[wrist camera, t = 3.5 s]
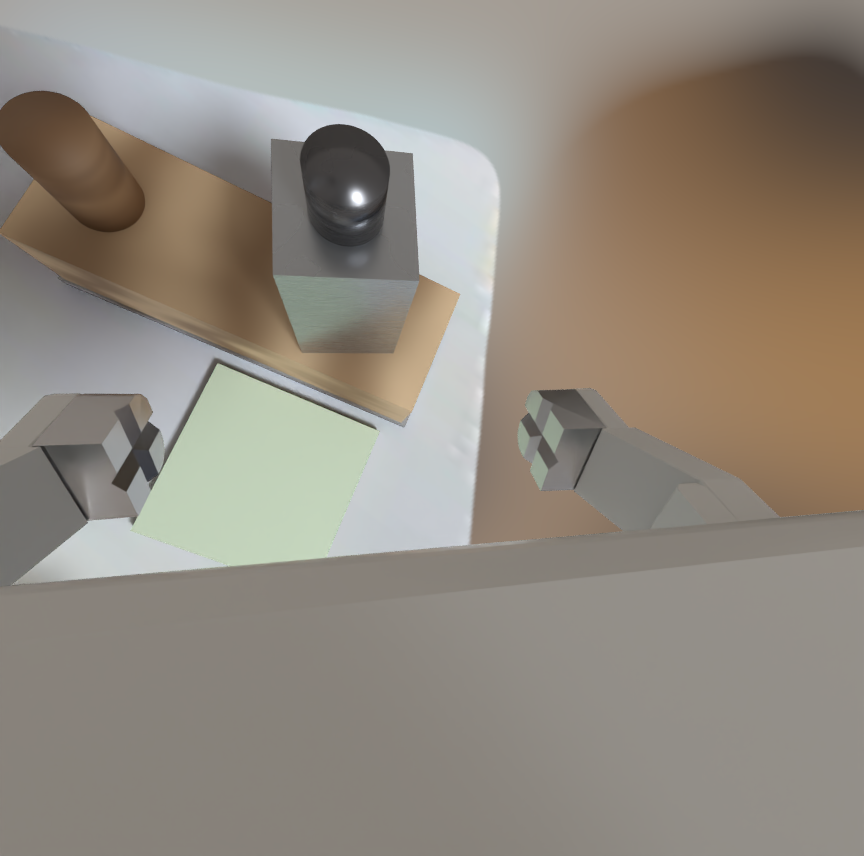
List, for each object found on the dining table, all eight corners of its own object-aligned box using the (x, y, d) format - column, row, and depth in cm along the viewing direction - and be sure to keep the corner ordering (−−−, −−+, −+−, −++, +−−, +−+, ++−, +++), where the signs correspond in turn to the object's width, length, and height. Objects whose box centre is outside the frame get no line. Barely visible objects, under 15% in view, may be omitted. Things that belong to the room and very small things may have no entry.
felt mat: (136, 529, 22) (130, 530, 22) (220, 365, 24) (217, 363, 24) (311, 591, 24) (310, 594, 23) (379, 432, 26) (379, 431, 25)
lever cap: (302, 353, 20) (258, 237, 11) (300, 266, 21) (257, 78, 11) (393, 353, 21) (431, 247, 11) (389, 270, 22) (423, 100, 12)
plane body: (65, 283, 23) (-109, 164, 14) (129, 179, 24) (6, 13, 16) (403, 427, 26) (431, 401, 17) (445, 327, 27) (490, 256, 18)
